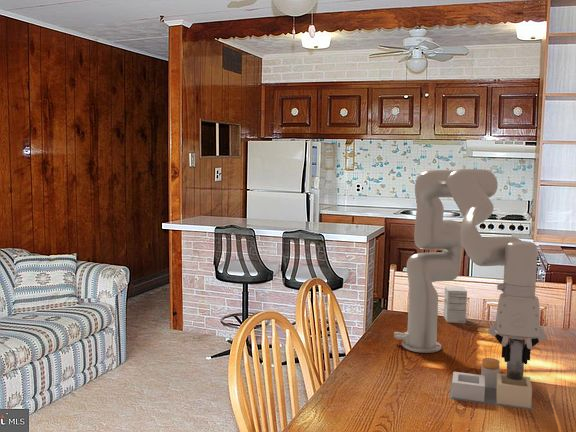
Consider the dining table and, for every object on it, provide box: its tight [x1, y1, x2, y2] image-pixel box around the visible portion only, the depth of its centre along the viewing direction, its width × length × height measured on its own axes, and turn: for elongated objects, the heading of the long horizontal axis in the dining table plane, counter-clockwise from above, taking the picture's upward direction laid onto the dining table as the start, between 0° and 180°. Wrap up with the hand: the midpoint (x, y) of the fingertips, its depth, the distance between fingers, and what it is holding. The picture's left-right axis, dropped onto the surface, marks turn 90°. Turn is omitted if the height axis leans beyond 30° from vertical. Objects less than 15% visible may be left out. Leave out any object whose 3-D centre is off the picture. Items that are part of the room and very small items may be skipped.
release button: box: [481, 357, 500, 369], centre depth 161 cm, size 4×4×6 cm
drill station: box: [448, 365, 534, 411], centre depth 156 cm, size 20×16×6 cm
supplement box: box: [443, 286, 468, 324], centre depth 229 cm, size 7×7×13 cm
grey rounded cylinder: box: [506, 336, 526, 380], centre depth 150 cm, size 4×4×10 cm
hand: (515, 360), depth 150 cm, fingers closed on grey rounded cylinder, 4 cm apart
